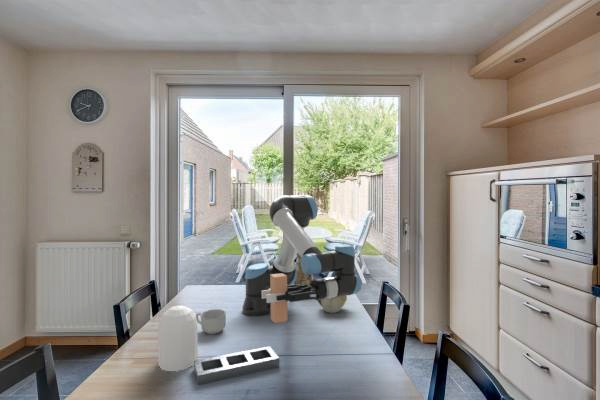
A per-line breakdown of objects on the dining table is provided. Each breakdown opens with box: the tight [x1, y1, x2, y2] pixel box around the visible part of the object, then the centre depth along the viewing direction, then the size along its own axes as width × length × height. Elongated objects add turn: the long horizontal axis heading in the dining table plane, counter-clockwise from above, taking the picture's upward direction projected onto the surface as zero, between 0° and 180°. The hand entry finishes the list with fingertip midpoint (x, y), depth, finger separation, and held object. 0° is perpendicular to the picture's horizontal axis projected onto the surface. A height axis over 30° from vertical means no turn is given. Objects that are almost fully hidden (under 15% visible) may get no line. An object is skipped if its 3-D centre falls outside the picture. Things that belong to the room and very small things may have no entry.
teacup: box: [195, 308, 227, 335], centre depth 151 cm, size 14×11×8 cm
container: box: [157, 305, 199, 372], centre depth 123 cm, size 14×13×20 cm
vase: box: [294, 253, 313, 285], centre depth 207 cm, size 10×11×30 cm
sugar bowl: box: [316, 295, 348, 314], centre depth 176 cm, size 20×15×15 cm
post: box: [269, 273, 288, 324], centre depth 123 cm, size 5×5×16 cm
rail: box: [193, 345, 280, 386], centre depth 119 cm, size 10×27×3 cm, turn 114°
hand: (264, 296), depth 121 cm, fingers closed on post, 5 cm apart
